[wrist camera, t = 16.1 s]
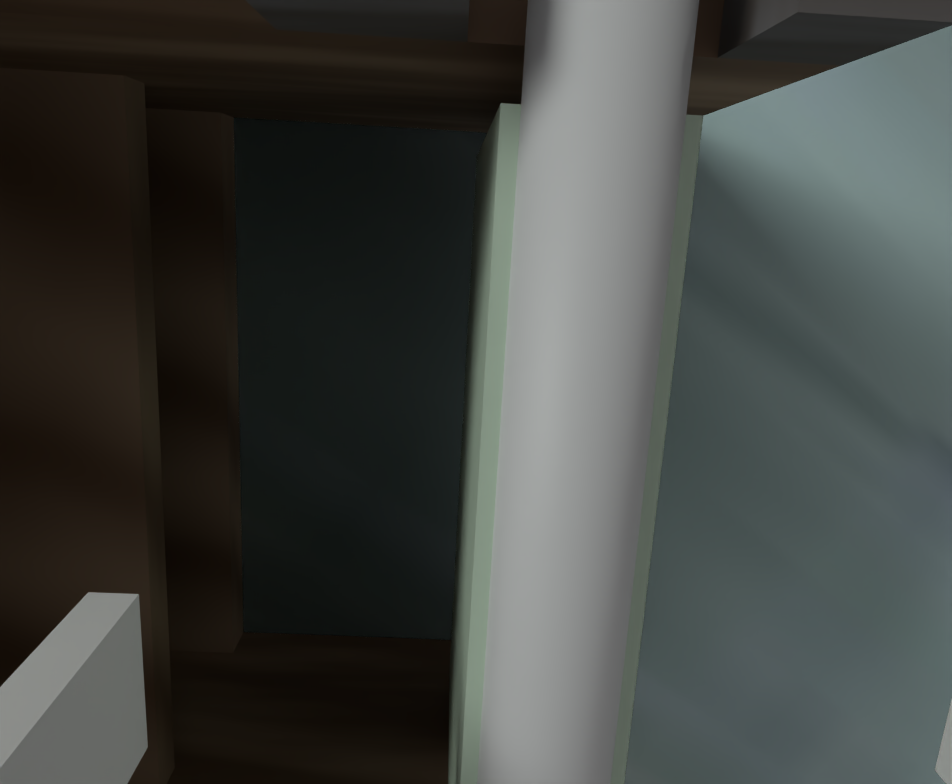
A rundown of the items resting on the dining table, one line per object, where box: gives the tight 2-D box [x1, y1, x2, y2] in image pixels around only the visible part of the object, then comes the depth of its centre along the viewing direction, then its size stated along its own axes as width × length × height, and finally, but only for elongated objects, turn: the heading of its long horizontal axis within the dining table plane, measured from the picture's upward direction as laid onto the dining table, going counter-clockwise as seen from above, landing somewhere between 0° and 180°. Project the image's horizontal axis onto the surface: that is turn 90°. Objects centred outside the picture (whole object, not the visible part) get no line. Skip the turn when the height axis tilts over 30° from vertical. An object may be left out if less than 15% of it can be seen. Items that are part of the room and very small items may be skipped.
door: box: [448, 0, 703, 784], centre depth 19 cm, size 25×4×14 cm, turn 177°
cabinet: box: [0, 0, 952, 784], centre depth 20 cm, size 23×22×18 cm
